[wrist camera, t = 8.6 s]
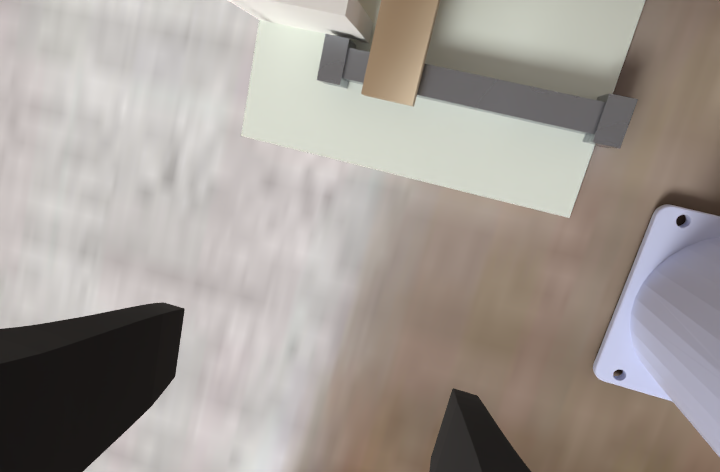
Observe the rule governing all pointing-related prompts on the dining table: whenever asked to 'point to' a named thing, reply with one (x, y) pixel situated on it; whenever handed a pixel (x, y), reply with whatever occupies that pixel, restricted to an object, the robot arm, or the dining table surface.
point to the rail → (493, 95)
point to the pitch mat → (445, 121)
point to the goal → (314, 15)
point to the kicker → (399, 50)
